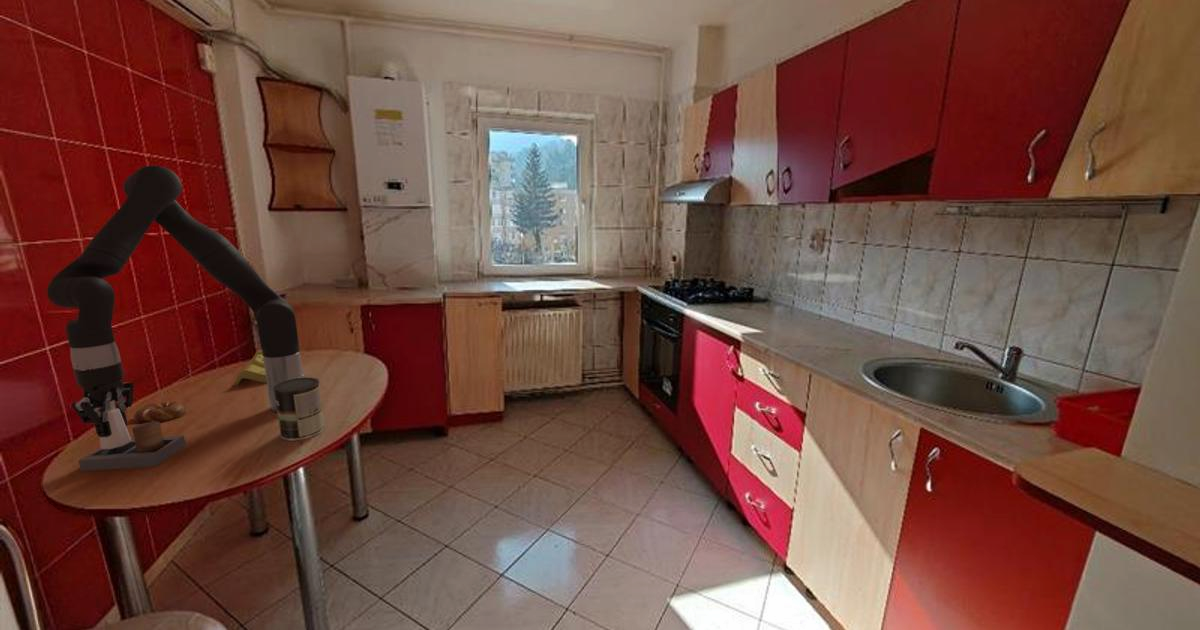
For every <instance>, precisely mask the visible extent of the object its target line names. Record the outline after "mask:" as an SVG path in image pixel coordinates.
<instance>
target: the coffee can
mask: <svg viewBox="0 0 1200 630" xmlns="http://www.w3.org/2000/svg"><path fill="white" fill-rule="evenodd" d="M319 384H320V381H319V379H318V378H315V377H306V378H296V379H291V380H287V381H283V382H281V383H279V384H277V385H275V386H274V387H273V390H274V393H275V399H276V406H277V412H276V413H277V418H278V419H277V420H278V427H279V432H280V438H281V439H282V440H283V441H288V442H296V441H303V440H308V439H310V438H314V437H315V436H318V435H319V434H321V433H322V432H323V431H324V430H325V424H324V416H323V409H322V402H321V401H322V400H321V393H320V385H319Z"/></svg>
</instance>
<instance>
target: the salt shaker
mask: <svg viewBox="0 0 1200 630" xmlns="http://www.w3.org/2000/svg"><path fill="white" fill-rule="evenodd" d="M115 406H116V405H115V400H113V401H111V402H110V411H108V420H107V421H109V424H110V428H111V433H112V434H111V435H110V436H108V437H99V445H100V446H99V447H100V448H101V449H113V448H117V447H121V446H124V445H126V444H128V443H130V442H131V439H132V438H131V436H130V433H129V430H128V428H127V427H126V425H125V423H124V420H123V417H122V415H121V412H120V410H119V408H116V407H115ZM98 408H103V407H98ZM98 416H99V417H101V413H100V412H98ZM100 448H99V449H100Z"/></svg>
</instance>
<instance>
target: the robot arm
mask: <svg viewBox="0 0 1200 630" xmlns="http://www.w3.org/2000/svg"><path fill="white" fill-rule="evenodd" d="M123 191H124V193H125V195H126V197H127V198H126V199H125V201H124V202H123V204H121V207H119V209H118V210H117V211H116V212H115V213H114V214H113V215H112V217H111V218H110V219H109V220H108V221H107V222H106V223H105V224H104V225H103V226H102V227H101V228H100V229H99V230H98V231H97V232H96V234H95V235H94V236H93V238H92V239H91V241H89V243H88V244H87V245H86V247H85V249H84V250H83V251H82V252H81V255H79V256H78V257H77V258H75V260H73V261H71V262H70V263H69V264H67V266H65V267H64V268H62V269H61V270H60V271H59V272H58V273H57V274H56V275H54V277H52V279H51V280H50V281H49V283H48V285H47V289H46V295H47V298H48V300H49V301H50V302H51V303H52V304H53V305H56V306H58V307H61V308H67V309H68V308H70V309H78V316H77V318H75V319H72V320H70V321H68V322H67V323H66V325H65V332H66V337H67V341H68V346H69V350H70V354H69V355H70V361H71V364H72V368H73V369H72V370H73V372H74V377H75V381H76V385H77V386H78V387H79V388H81V389H82V391H83V392H82V399H80V400H79V401H77V402H72V403H71V408H72V409H73V411H74V412H75V413H76V414H77V416H78V417H79V419H80V420H81V421H82V423H83V424H85V425H86V424H94V427H95V432H96V435H97V436H98V438H100V437H108V436H110V435H111V434H112V433H111V428H110V424H109V421H107V420H108V411H110V402H111V401H113V400H115V405H116V406H115V407H116V408H119V410H120V412H121V415H122V417H123V420H124V423H125V425H126V428H127V427H128V420H127V416H126V415H127V414H126V412H127V411H128V410H127V409H128V408H130V407H132V406H133V400H134V391H135V390H134V389H135V388H134V387H135V382H131V381H130V382H128V381H127V382H123V381H122V380H124V378H125V373H124V368H123V364H122V363H123V362H122V360H121V355H120V350H119V347H118V346H117V344H116V343H117V342H116V339H115V334H114V331H113V327H112V321H113V316H114V310H115V301H116V300H115V299H116V297H115V296H116V295H115V291H114V289H113V287H112V285H111V284H110V283H109V282H108V281H107V280H105V279H104V278H106V277H111V276H114V275H117V274H119V273H120V272H121V271H122V270H123V268H124V267H125V265H126V264H127V262H128V261H129V259H130V258H131V256H132V254H133V253H134V252H135V250H136V249H137V247H138V246H139V244H140V242H141V241H142V239H143V238H144V236H145V234H146V233H147V232H148V229H149V228H150V227H151V225H152V224H153V222H156V224H158V225H159V226H160V227H161V228H162V229H163V230H165V231H166V232H167V233H168V234H169V235H170V236H171V237H172V238H173V240H175V241H176V242H177V243H178V244H179V245H180V246H181V247H182V248H183V249H184V250H185V251H186V252H187V253H188V254H189V256H191V257H192V258H193V260H195V262H196V263H198V264H199V265H200V266H201V268H203V269H204V270H205V271H206V272H207V273H208V274H209V275H210V276H212V278H214V279H215V280H216V281H218V282H219V283H220V284H222V285H223V286H224V287H226V288H228V289H229V290H230V291H232V292H233V293H235V294H236V296H238V297H240V298H241V300H243V302H244V303H246V305H247V306H248V307H249V308H250V309H251V310H252V312H253V313H254V314H255V316H256V322H257V323H256V324H257V330H258V336H259V342H260V347H261V350H262V353H263V360H264V366H265V373H266V379H267V383H266V384H267V393H268V397H269V404H270V410H271V411H272V412H274V413H277V406H276V399H275V393H274V390H273V387H274V386H275V385H277V384H279V383H281V382H283V381H287V380H291V379H296V378H307V374H306V373H305V372H304V373H303V366H302V360H301V359H302V358H301V353H300V343H299V341H300V340H299V334H298V327H297V319H296V313H295V310H294V307H293V306H292V305H291V304H290V303H289V302H287V300H285V299H284V298H283V297H282V296H281V295H279V294H278V293H277V292H276V291H274V289H272V288H271V287H270V286H269V285H268V284H267V283H266V282H265V281H264V280H263V279H262V278H261V276H260V274H258V272H257V271H256V269H254V267H253V266H252V265H251V263H250V262H249V261H248V260H247V259H246V258H245V256H243V254H242V253H241V252H240V251H239V250H238V249H237V248H236V247H235V246H234V245H233V244H232V243H231V241H230V240H228V239H227V238H226V237H225V236H224V235H222V234H221V233H219V232H217V231H216V230H215V229H212V228H210V227H209V226H207V225H205V224H203V223H201V222H200V221H198V219H195V218H194V217H193V216H192V215H190V214H189V212H187V211H186V210H185V208H183V207H182V205H180V203H179V202H178V201H177V200H176V199H178V198H179V197H180V195H181V193H182V191H183V183H182V181H181V179H180V178H179V176H178V175H177V174H176V173H175V172H174V171H173V170H171V169H169V168H167V167H165V166H162V165H157V164H156V165H155V164H154V165H153V164H151V165H146V166H141V167H140V168H139V169H137V170H135V171H134V172H133V173H131V174H130V175H129V176H128V177H127V178H126V179H125V180H124V182H123ZM125 398H126V399H125ZM99 407H103V408H99ZM98 412H100V413H101V417H99V416H98Z"/></svg>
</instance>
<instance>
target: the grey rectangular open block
mask: <svg viewBox="0 0 1200 630" xmlns="http://www.w3.org/2000/svg"><path fill="white" fill-rule="evenodd" d="M163 440H164V445H165V446H164V447H162V448H161V449H159V450H158V451H156V452H145V453H137V449H136V444H135V440H134V437H133V438H131V442H130V443H128V444H126V445H124V446H121V447H117V448H113V449H101V448H98V449H96V450H94V451H92V452H91V453H89V454H88V455H85V456H84V457H82V458H80V459H78V464H79V469H80V472H90V471H93V472H94V471H107V470H120V469H121V470H122V469H123V470H124V469H135V468H153V467H155V468H156V467H157V466H159V465H160V464H162V463H163V462H164V461H166V460H168V459H169V458H170V457H172V456H173V455H174V454H176V453H178V452H179V451H180V450H182V449H183V448H184V447H186V446H187V444H186V443H187V442H186V439H185V435H171V436H170V435H169V436H163Z"/></svg>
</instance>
